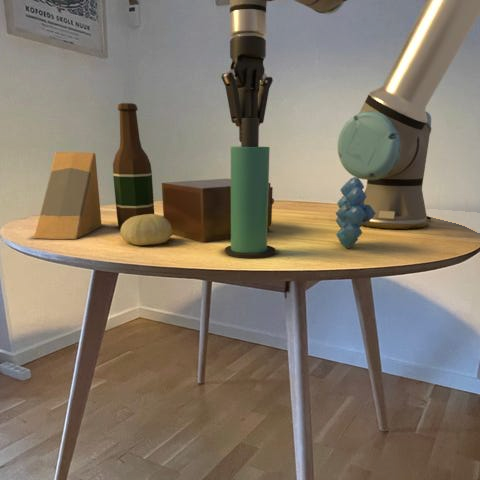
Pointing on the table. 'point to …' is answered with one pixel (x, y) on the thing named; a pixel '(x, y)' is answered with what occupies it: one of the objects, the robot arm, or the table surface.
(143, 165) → the beer bottle
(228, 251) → the mat
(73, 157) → the sandwich container
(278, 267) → the table surface
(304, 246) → the table surface
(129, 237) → the sea urchin shell
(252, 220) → the soap bottle
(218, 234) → the cabinet
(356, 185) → the grapes
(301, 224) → the table surface
